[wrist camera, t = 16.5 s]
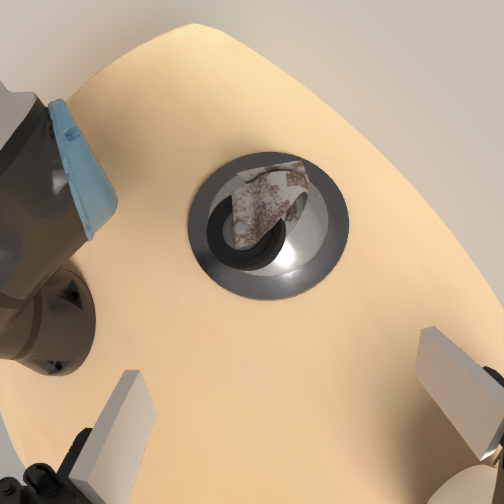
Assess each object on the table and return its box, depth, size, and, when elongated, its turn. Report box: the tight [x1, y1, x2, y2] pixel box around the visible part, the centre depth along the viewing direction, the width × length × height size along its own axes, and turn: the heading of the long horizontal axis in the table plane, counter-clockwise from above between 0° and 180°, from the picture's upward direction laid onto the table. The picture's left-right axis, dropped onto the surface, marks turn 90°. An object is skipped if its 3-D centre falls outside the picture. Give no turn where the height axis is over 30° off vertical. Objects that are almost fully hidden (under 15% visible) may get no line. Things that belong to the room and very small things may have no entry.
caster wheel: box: [206, 161, 310, 271], centre depth 32 cm, size 7×11×10 cm
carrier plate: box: [188, 152, 349, 301], centre depth 36 cm, size 19×19×1 cm
